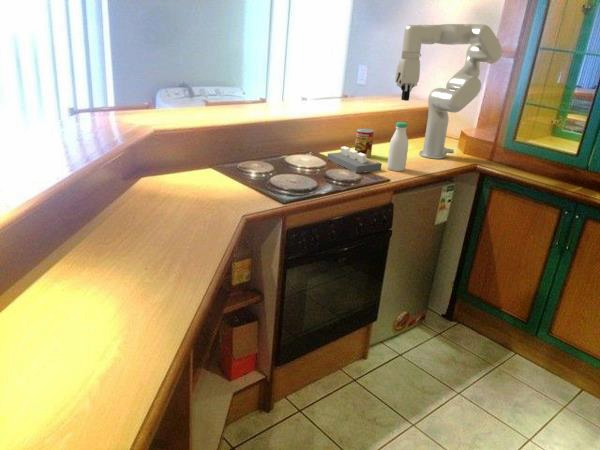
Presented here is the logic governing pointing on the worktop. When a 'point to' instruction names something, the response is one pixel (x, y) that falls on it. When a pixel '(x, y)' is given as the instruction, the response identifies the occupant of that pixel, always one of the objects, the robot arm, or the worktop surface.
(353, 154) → the paddle mid
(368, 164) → the switch panel
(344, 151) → the paddle
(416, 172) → the worktop surface
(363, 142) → the canned food
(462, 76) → the robot arm
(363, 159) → the paddle
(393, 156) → the milk bottle
